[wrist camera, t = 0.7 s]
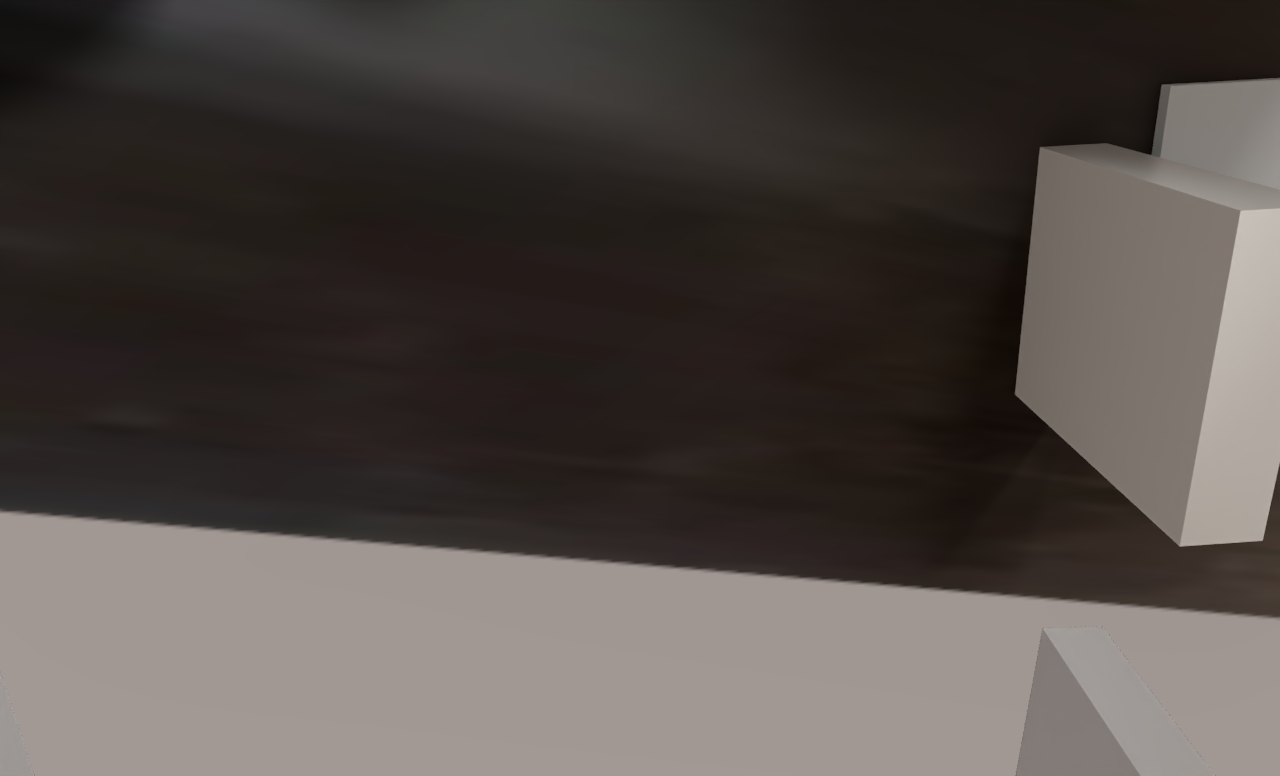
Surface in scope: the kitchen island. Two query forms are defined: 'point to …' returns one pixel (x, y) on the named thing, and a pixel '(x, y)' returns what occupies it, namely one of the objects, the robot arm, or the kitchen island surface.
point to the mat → (1222, 128)
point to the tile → (1158, 334)
